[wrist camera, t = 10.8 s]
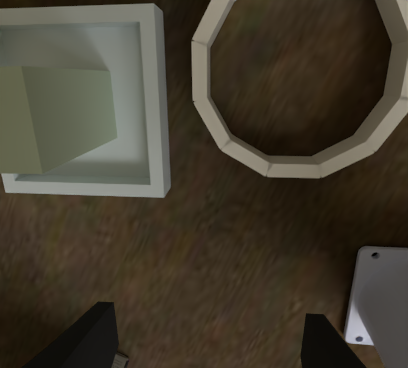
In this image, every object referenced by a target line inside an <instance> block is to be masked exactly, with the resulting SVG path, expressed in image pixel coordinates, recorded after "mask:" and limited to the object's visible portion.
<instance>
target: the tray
mask: <svg viewBox="0 0 408 368" xmlns="http://www.w3.org/2000/svg"><path fill="white" fill-rule="evenodd" d="M3 66H31V67H47V68H64V69H81V70H98V71H110V74H111V83H112V92H113V101H114V110H115V119H116V127H117V136H118V138H116V139H114V140H112V141H110V142H108V143H106V144H104V145H101V146H99V147H97V148H95V149H93V150H91V151H89V152H87V153H85V154H83V155H81V156H79V157H77V158H75V159H72V160H70V161H68V162H66V163H64V164H62V165H60V166H58V167H56V168H54V169H52V170H50V171H48V172H46V173H43V174H2V173H1V174H2V179H3V183H4V187H5V192H8V193H39V194H69V195H100V196H131V197H161V198H164V197H165V195H166V194H167V192H168V191H169V189H170V188H171V179H170V157H169V135H168V113H167V90H166V68H165V46H164V24H163V11H162V10H161V9H160V8H158V7H157V6H156V5H155V4H154V3H150V4H122V5H93V6H64V7H36V8H7V9H0V67H3Z"/></svg>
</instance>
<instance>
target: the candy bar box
mask: <svg viewBox="0 0 408 368" xmlns="http://www.w3.org/2000/svg"><path fill="white" fill-rule="evenodd" d="M128 362H129V358H127V357H126V356H124V355H122V354H120V353H117V352H116V355H115V358H114V361H113V364H112V368H127V365H128Z"/></svg>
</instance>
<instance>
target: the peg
mask: <svg viewBox="0 0 408 368" xmlns="http://www.w3.org/2000/svg"><path fill="white" fill-rule="evenodd" d="M116 138H118V136H117V127H116V119H115V110H114V101H113V92H112V83H111V74H110V71H98V70H81V69H64V68H47V67H31V66H3V67H0V173H2V174H43V173H46V172H48V171H50V170H52V169H54V168H56V167H58V166H60V165H62V164H64V163H66V162H68V161H70V160H72V159H75V158H77V157H79V156H81V155H83V154H85V153H87V152H89V151H91V150H93V149H95V148H97V147H99V146H101V145H104V144H106V143H108V142H110V141H112V140H114V139H116Z"/></svg>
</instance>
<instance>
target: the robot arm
mask: <svg viewBox="0 0 408 368" xmlns="http://www.w3.org/2000/svg"><path fill="white" fill-rule="evenodd" d="M375 252H377V255H375V256H371V255H372V254H373V253H375ZM358 336H360V337H358ZM356 337H358V338H356ZM344 338H345V340H346V342H348V343H354V344H366V345H374V346H375V348H376V350H377V352H378V354H379V356H380V358H381V360H382V362H383V364H384V366H385V368H408V248H397V247H375V246H364V247H362V248H360V249H359V251H358V255H357V260H356V266H355V272H354V278H353V283H352V289H351V295H350V300H349V306H348V312H347V318H346V323H345V329H344ZM346 342H345V341H344V340H343V339H342V337H341V336H340V335H339V333H338V332H337V331H336V330H335V328H334V327H333V326H332V324H331V323H330V322H329V320H328V319H327V318H326V317H325V316H324V315H323V314H307V313H306V318H305V326H304V334H303V341H302V349H301V362H302V368H366V366H365V365H364V364H363V363H362V362H361V361H360V359H359V358H358V357H357V356H356V355H355V354H354V352H353V351H352V350H351V349H350V347H349V346H348V345H347V344H346ZM118 345H119V342H118V334H117V326H116V318H115V310H114V302H97V303H96V304H95V305H94V306H93V307H92V308H90V309H89V310H88V311H87V312H86V313H85V314H84V315H83V316H82V317H81V318H79V319H78V320H77V321H76V322H75V323H74V324H73V325H72V326H71V327H69V328H68V329H67V330H66V331H65V332H64V333H63V334H62V335H60V336H59V337H58V338H57V339H56V340H55V341H54V342H52V343H51V344H50V345H49V346H48V347H46V348H45V349H44V350H43V351H42V352H40V353H39V354H38V355H37V356H35V357H34V358H33V359H32V360H31V361H29V362H28V363H27V364H26V365H24V366H23V367H22V368H112V364H113V361H114V358H115V355H116V352H117V348H118Z"/></svg>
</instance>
